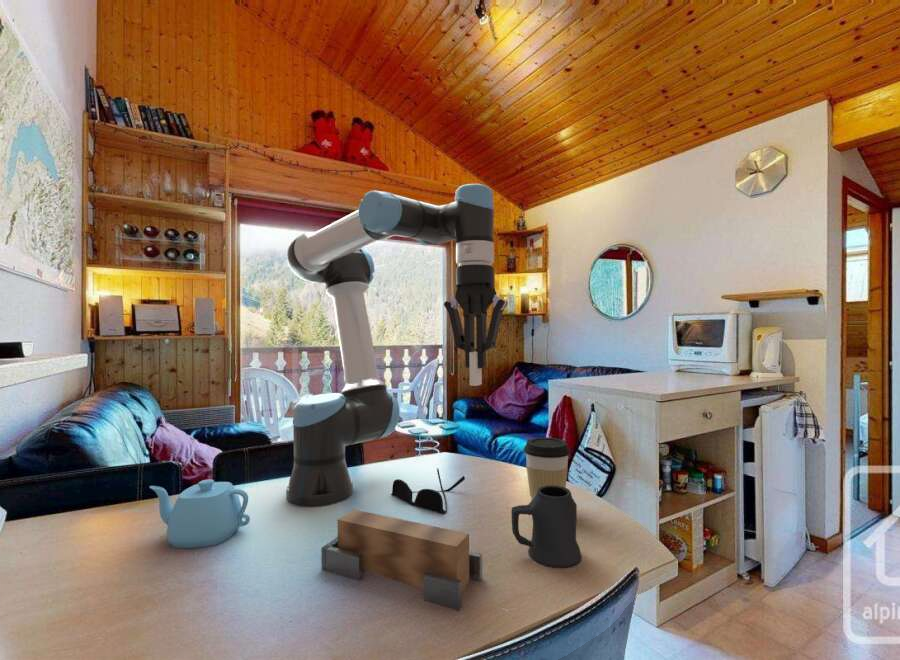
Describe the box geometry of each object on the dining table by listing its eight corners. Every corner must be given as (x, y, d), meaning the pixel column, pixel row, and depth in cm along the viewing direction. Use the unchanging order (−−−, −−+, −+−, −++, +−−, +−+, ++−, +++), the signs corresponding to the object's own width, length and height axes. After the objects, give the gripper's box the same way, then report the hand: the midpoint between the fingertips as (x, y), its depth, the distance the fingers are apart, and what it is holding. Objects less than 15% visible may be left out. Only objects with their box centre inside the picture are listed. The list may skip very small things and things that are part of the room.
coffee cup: (566, 503, 99) (566, 437, 99) (574, 523, 89) (574, 448, 89) (522, 502, 100) (522, 436, 100) (525, 521, 90) (525, 448, 90)
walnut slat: (337, 567, 74) (337, 519, 74) (354, 554, 78) (354, 509, 78) (457, 601, 64) (456, 546, 64) (469, 585, 68) (469, 533, 68)
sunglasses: (481, 498, 103) (481, 477, 103) (439, 519, 93) (439, 495, 93) (429, 482, 114) (429, 463, 114) (386, 499, 104) (386, 477, 104)
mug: (569, 540, 82) (569, 480, 82) (590, 567, 73) (590, 499, 73) (506, 545, 81) (505, 483, 81) (519, 572, 72) (519, 503, 72)
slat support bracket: (321, 572, 72) (321, 547, 72) (355, 547, 80) (355, 525, 80) (359, 583, 69) (358, 557, 69) (390, 556, 77) (390, 533, 77)
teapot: (166, 472, 90) (259, 468, 92) (166, 525, 90) (259, 520, 92) (129, 496, 77) (237, 490, 79) (130, 557, 77) (238, 550, 79)
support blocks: (423, 602, 64) (423, 574, 64) (450, 571, 72) (450, 546, 72) (458, 612, 62) (458, 584, 62) (482, 579, 70) (481, 553, 70)
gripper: (436, 265, 87) (437, 385, 87) (500, 260, 81) (500, 389, 81) (453, 269, 94) (453, 381, 94) (512, 265, 88) (513, 384, 88)
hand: (475, 384), depth 88 cm, fingers closed
